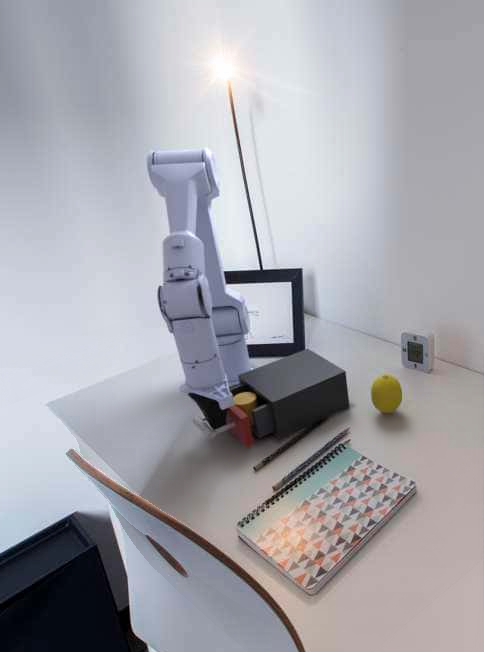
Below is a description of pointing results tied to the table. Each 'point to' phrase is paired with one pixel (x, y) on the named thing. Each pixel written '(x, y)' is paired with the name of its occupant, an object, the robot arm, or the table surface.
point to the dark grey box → (299, 390)
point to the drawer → (243, 420)
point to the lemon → (386, 393)
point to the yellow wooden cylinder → (246, 404)
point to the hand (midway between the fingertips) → (218, 426)
